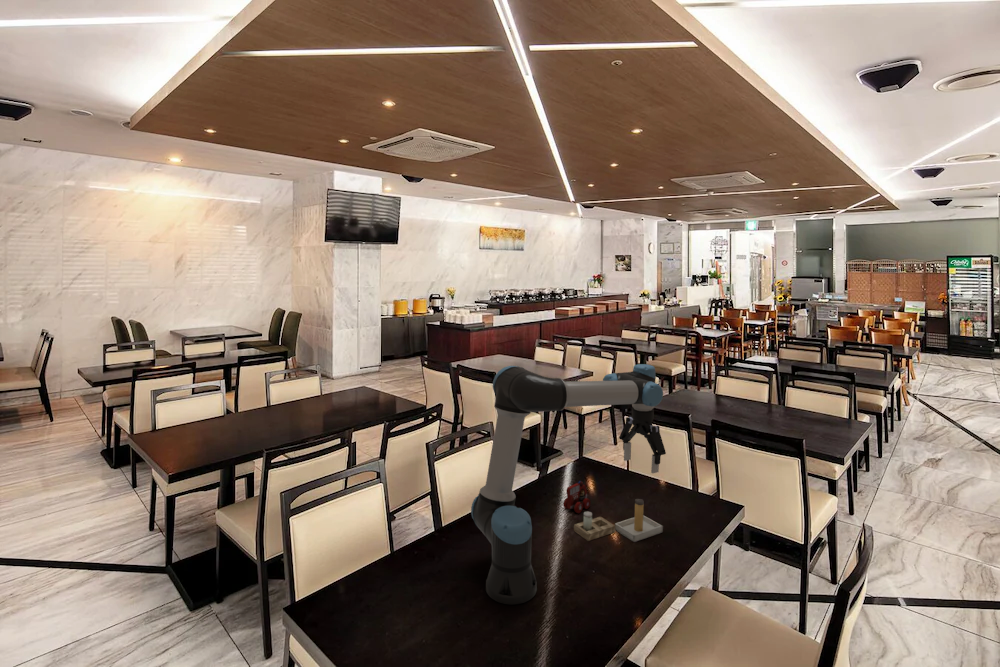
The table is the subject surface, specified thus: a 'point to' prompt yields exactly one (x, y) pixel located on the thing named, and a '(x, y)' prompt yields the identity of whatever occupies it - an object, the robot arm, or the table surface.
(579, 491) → the toy fire truck
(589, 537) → the socket block
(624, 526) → the tray
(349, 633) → the table surface
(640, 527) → the cylinder
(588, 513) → the fuse
